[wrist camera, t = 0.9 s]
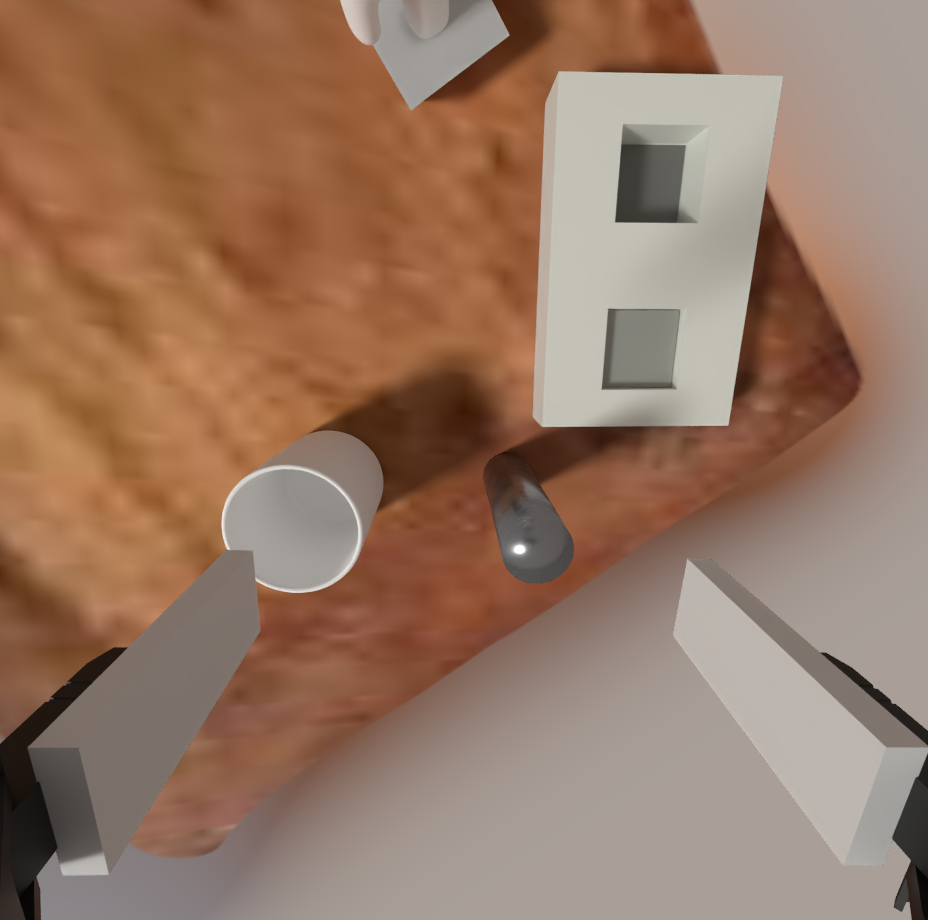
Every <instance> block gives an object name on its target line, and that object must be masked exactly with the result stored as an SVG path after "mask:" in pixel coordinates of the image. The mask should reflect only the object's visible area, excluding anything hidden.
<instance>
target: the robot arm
mask: <svg viewBox="0 0 928 920" xmlns="http://www.w3.org/2000/svg"><path fill="white" fill-rule="evenodd" d="M259 633H260V621H259V611H258V600H257V590H256V579H255V568H254V558H253V551H249V550H226V551H225V552H224V553H223V554H222V555H221V556H220V557H219V558H218V559H217V560H216V561H215V562H214V563H213V564H212V565H211V566H210V567H209V568H208V569H207V570H206V571H205V572H204V573H203V574H202V575H201V576H200V577H199V578H198V579H197V580H196V581H195V582H194V583H193V584H192V585H191V586H190V587H189V588H188V589H187V590H186V591H185V592H184V593H183V594H182V595H181V596H180V597H179V598H178V599H177V600H176V601H175V602H174V603H173V604H172V605H171V606H170V607H168V608H167V609H166V610H165V611H164V612H163V613H162V614H161V615H160V616H159V617H158V618H157V619H156V620H155V621H154V622H153V623H152V624H151V625H150V626H149V627H148V628H147V629H146V630H145V631H144V632H143V633H142V634H141V635H140V636H139V637H138V638H137V639H136V640H135V641H134V642H133V643H132V644H131V645H130V646H129V647H128V648H116V647H114V648H112V649H111V650H109V651H107V652H105V653H104V654H102V655H100V656H99V657H97V658H95V659H94V660H92V661H90V662H89V663H87V664H86V665H85V666H84V667H83V668H82V669H81V670H80V671H78V672H77V673H76V674H75V675H74V676H73V677H72V678H71V679H70V680H69V681H68V682H67V685H66V686H62V687H61V688H60V689H59V690H58V691H57V692H56V693H55V694H54V695H53V696H51V697H50V700H49V702H45V703H44V704H43V705H42V706H41V707H40V708H38V709H37V710H36V711H35V712H34V713H33V714H32V715H31V716H30V717H29V718H28V719H27V720H25V721H24V722H23V723H22V724H21V725H20V726H19V727H18V728H17V729H16V730H15V731H14V732H13V733H11V734H10V735H9V736H8V737H7V738H6V739H5V740H4V741H3V742H2V743H1V744H0V920H41V908H40V887H39V884H38V881H37V877H36V876H37V875H38V873H39V872H40V871H41V869H42V868H43V867H44V865H45V864H46V863H47V861H48V860H49V859H50V857H51V856H52V855H53V853H54V852H55V851H56V853H57V856H58V860H59V864H60V867H61V871H62V875H109V874H110V872H111V871H112V869H113V867H114V866H115V864H116V863H117V861H118V859H119V858H120V856H121V854H122V853H123V851H124V850H125V848H126V846H127V845H128V843H129V842H130V840H131V838H132V837H133V835H134V834H135V832H136V830H137V829H138V827H139V826H140V824H141V822H142V821H143V819H144V818H145V816H146V814H147V813H148V811H149V810H150V808H151V806H152V805H153V803H154V801H155V800H156V798H157V797H158V795H159V793H160V792H161V790H162V789H163V787H164V785H165V784H166V782H167V781H168V779H169V777H170V776H171V774H172V773H173V771H174V769H175V768H176V766H177V764H178V763H179V761H180V760H181V758H182V756H183V755H184V753H185V752H186V750H187V748H188V747H189V745H190V744H191V742H192V740H193V739H194V737H195V736H196V734H197V732H198V731H199V729H200V727H201V726H202V724H203V723H204V721H205V719H206V718H207V716H208V715H209V713H210V711H211V710H212V708H213V707H214V705H215V703H216V702H217V700H218V698H219V697H220V695H221V694H222V692H223V690H224V689H225V687H226V686H227V684H228V682H229V681H230V679H231V678H232V676H233V674H234V673H235V671H236V670H237V668H238V666H239V665H240V663H241V661H242V660H243V658H244V657H245V655H246V653H247V652H248V650H249V649H250V647H251V645H252V644H253V642H254V641H255V639H256V637H257V636H258V634H259ZM673 636H674V638H675V639H676V640H677V642H678V643H679V644H680V645H681V647H682V648H683V650H684V651H685V653H686V654H687V655H688V657H689V658H690V659H691V661H692V662H693V663H694V665H695V666H696V667H697V669H698V670H699V671H700V673H701V674H702V675H703V677H704V678H705V680H706V681H707V682H708V683H709V685H710V686H711V688H712V689H713V690H714V692H715V693H716V694H717V696H718V697H719V698H720V700H721V701H722V702H723V704H724V705H725V707H726V708H727V709H728V710H729V712H730V713H731V715H732V716H733V717H734V719H735V720H736V721H737V723H738V724H739V725H740V727H741V728H742V729H743V731H744V732H745V733H746V735H747V736H748V738H749V739H750V740H751V742H752V743H753V744H754V745H755V747H756V748H757V750H758V751H759V752H760V754H761V755H762V756H763V758H764V759H765V761H766V762H767V763H768V765H769V766H770V767H771V769H772V770H773V771H774V773H775V774H776V775H777V777H778V778H779V779H780V781H781V782H782V783H783V784H784V786H785V787H786V789H787V790H788V791H789V793H790V794H791V796H792V797H793V798H794V800H795V801H796V802H797V804H798V805H799V806H800V808H801V809H802V810H803V812H804V813H805V815H806V816H807V817H808V819H809V820H810V821H811V823H812V824H813V825H814V827H815V828H816V829H817V831H818V832H819V833H820V835H821V836H822V837H823V839H824V840H825V842H826V843H827V844H828V846H829V847H830V848H831V850H832V851H833V852H834V854H835V855H836V856H837V858H838V859H839V860H840V862H841V863H842V864H843V866H867V865H869V866H871V865H883V864H884V862H885V860H886V857H887V855H888V852H889V849H890V847H891V844H892V842H893V840H894V841H895V842H896V844H897V845H898V846H899V847H900V848H901V849H902V850H903V852H905V854H906V855H907V856H908V857H909V858H910V860H911V862H910V865H909V867H908V869H907V872H906V874H905V876H904V879H903V881H902V884H901V886H900V888H899V891H898V893H897V896H896V899H895V904H894V908H896V909H898V910H899V911H901V912H902V911H903V908H904V906H905V904H906V902H910V909H911V917H912V920H928V731H927V730H926V729H925V728H923V726H921V725H920V724H919V723H918V722H917V721H915V720H914V719H913V718H912V717H911V716H909V715H908V714H907V713H906V712H905V711H903V710H902V709H901V708H900V707H899V706H897V705H896V704H892V703H891V700H890V699H889V698H888V697H886V696H885V695H884V694H883V693H882V692H880V691H879V690H878V689H874V688H873V685H872V684H871V683H870V682H868V681H867V680H866V679H865V678H864V677H863V676H861V675H860V674H859V673H858V672H856V671H855V670H854V669H853V668H851V667H850V666H848V665H846V664H845V663H843V662H841V661H839V660H838V659H836V658H834V657H832V656H831V655H829V654H827V653H820V652H819V651H818V650H816V649H815V648H814V647H813V646H811V644H809V643H808V642H807V641H806V640H805V639H804V638H803V637H801V636H800V635H799V634H798V633H797V632H795V631H794V630H793V629H792V628H791V627H790V626H789V625H787V624H786V623H785V622H784V621H783V620H782V619H780V618H779V617H778V616H777V615H776V614H774V612H772V611H771V610H770V609H769V608H768V607H767V606H765V605H764V604H763V603H762V602H761V601H760V600H758V599H757V598H756V597H755V596H754V595H753V594H752V593H750V592H749V591H748V590H747V589H746V588H745V587H743V586H742V585H741V584H740V583H739V582H737V581H736V580H735V579H734V578H733V577H732V576H731V575H730V574H728V573H727V572H726V571H725V570H724V569H723V568H721V567H720V566H719V565H718V564H717V563H716V562H714V561H713V560H712V559H687V564H686V569H685V575H684V580H683V585H682V591H681V596H680V601H679V606H678V612H677V617H676V622H675V628H674V633H673Z"/></svg>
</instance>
